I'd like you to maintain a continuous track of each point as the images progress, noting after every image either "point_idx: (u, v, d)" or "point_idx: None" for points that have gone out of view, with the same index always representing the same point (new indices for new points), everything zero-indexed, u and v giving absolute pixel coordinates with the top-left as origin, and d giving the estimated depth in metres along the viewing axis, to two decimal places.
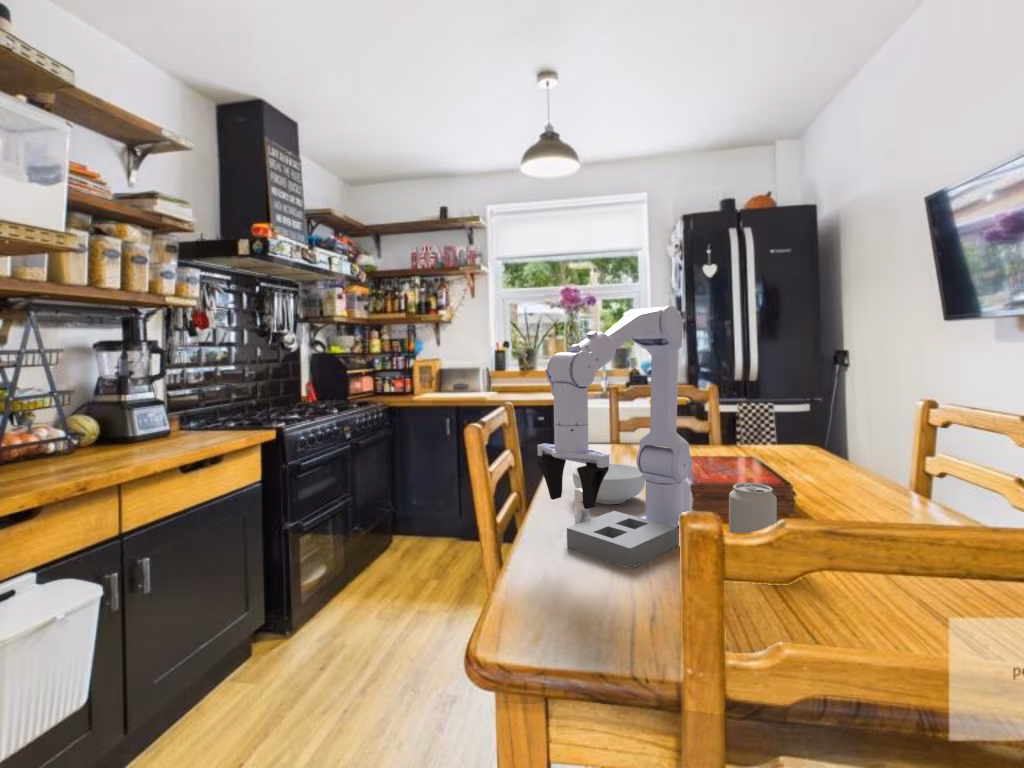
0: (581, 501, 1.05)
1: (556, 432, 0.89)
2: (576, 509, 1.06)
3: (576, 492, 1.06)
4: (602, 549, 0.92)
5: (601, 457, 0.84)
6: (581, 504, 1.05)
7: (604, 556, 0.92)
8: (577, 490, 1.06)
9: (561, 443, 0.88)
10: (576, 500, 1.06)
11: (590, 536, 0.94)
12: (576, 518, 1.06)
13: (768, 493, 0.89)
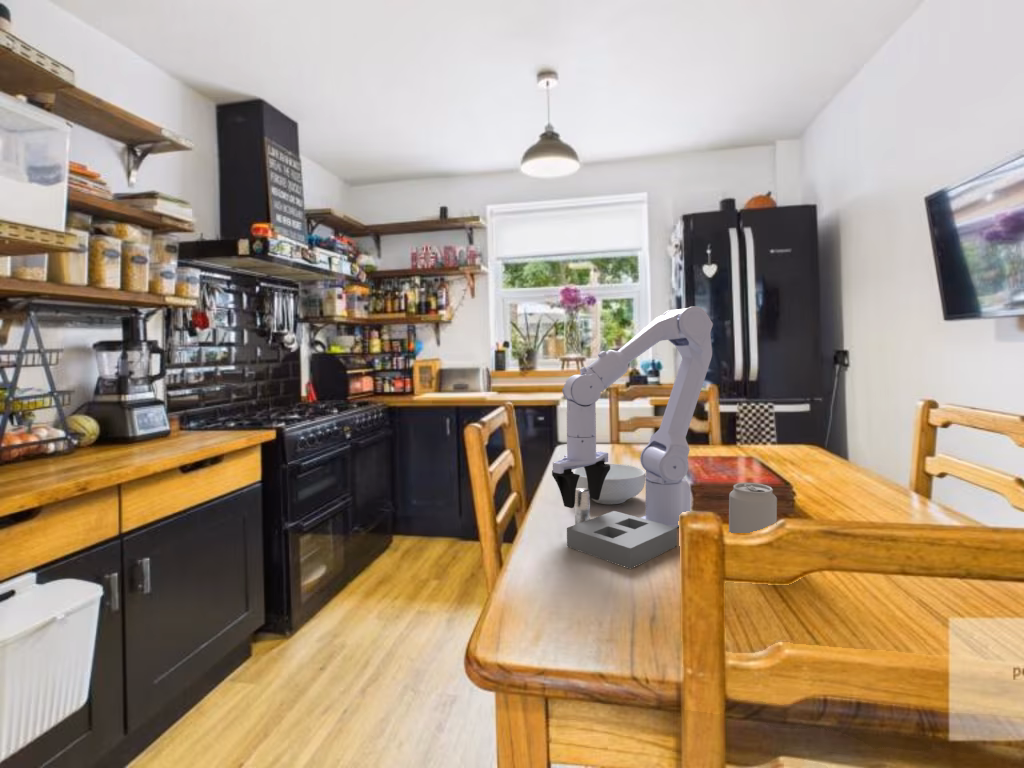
0: (581, 501, 1.05)
1: None
2: (576, 509, 1.06)
3: (576, 492, 1.06)
4: (602, 549, 0.92)
5: (553, 463, 1.02)
6: (580, 504, 1.05)
7: (604, 556, 0.92)
8: (577, 490, 1.06)
9: None
10: (576, 500, 1.06)
11: (590, 536, 0.94)
12: (576, 518, 1.06)
13: (768, 493, 0.89)
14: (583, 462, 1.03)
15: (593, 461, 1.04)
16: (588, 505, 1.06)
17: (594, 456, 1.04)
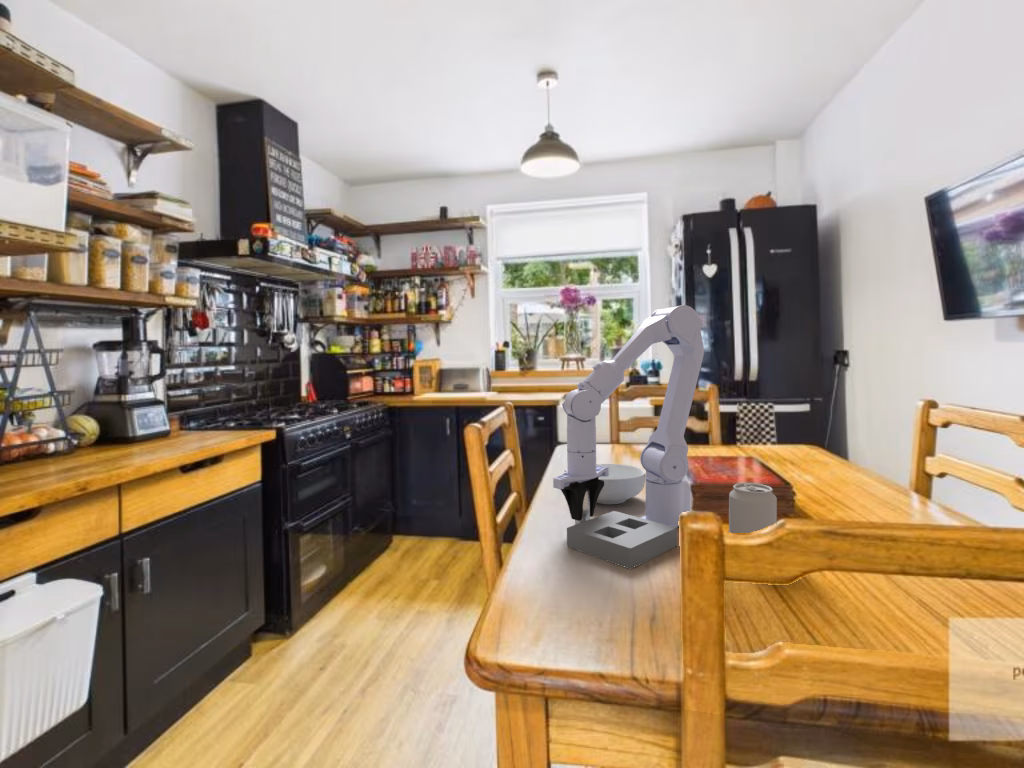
0: None
1: None
2: None
3: None
4: (602, 549, 0.92)
5: (553, 479, 1.02)
6: None
7: (604, 556, 0.92)
8: None
9: None
10: None
11: (590, 536, 0.94)
12: None
13: (768, 493, 0.89)
14: (583, 477, 1.03)
15: (593, 476, 1.04)
16: (588, 505, 1.06)
17: (594, 471, 1.04)
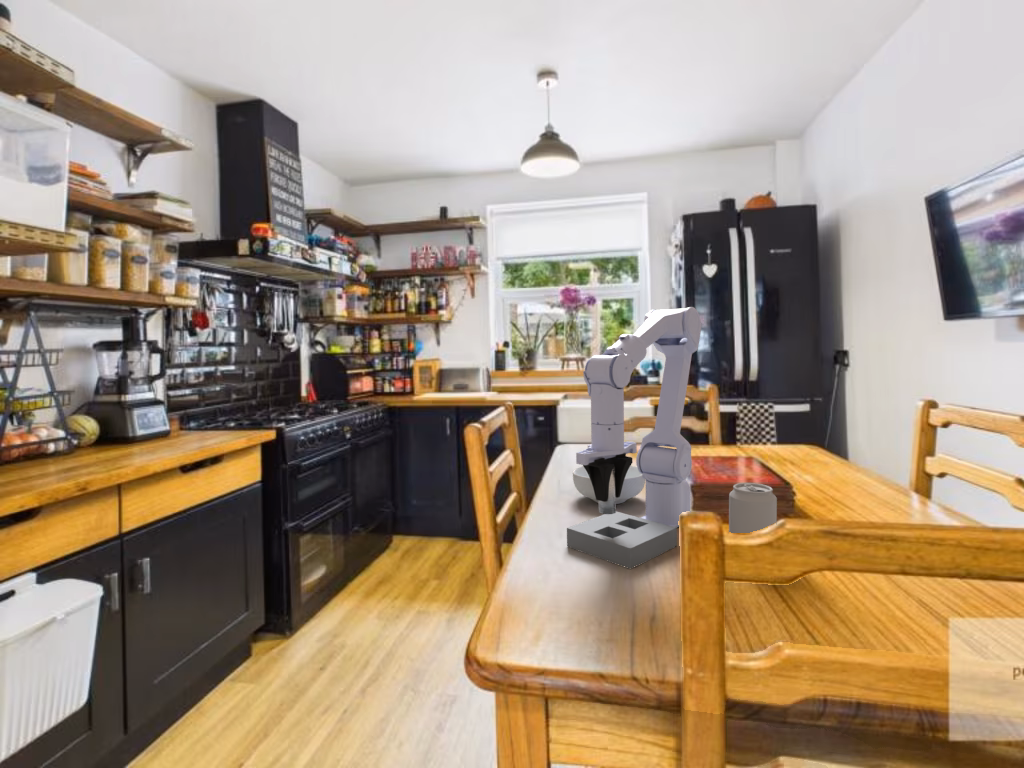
0: None
1: None
2: None
3: None
4: (602, 549, 0.92)
5: (576, 453, 0.91)
6: None
7: (604, 556, 0.92)
8: None
9: None
10: None
11: (590, 536, 0.94)
12: None
13: (768, 493, 0.89)
14: (610, 452, 0.91)
15: (621, 451, 0.92)
16: (613, 484, 0.94)
17: (622, 446, 0.93)
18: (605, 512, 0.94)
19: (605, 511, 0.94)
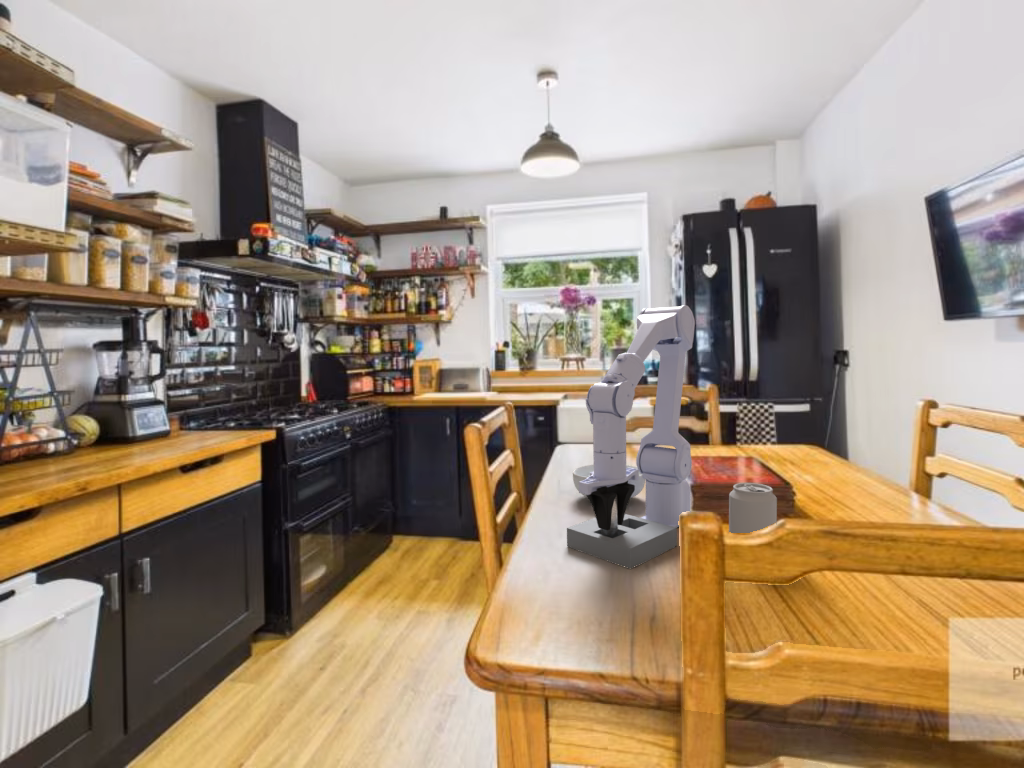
0: None
1: None
2: None
3: None
4: (602, 549, 0.92)
5: (579, 483, 0.90)
6: None
7: (604, 556, 0.92)
8: None
9: None
10: None
11: (590, 536, 0.94)
12: None
13: (768, 493, 0.89)
14: (613, 481, 0.91)
15: (624, 480, 0.92)
16: (615, 512, 0.94)
17: (624, 474, 0.93)
18: None
19: None
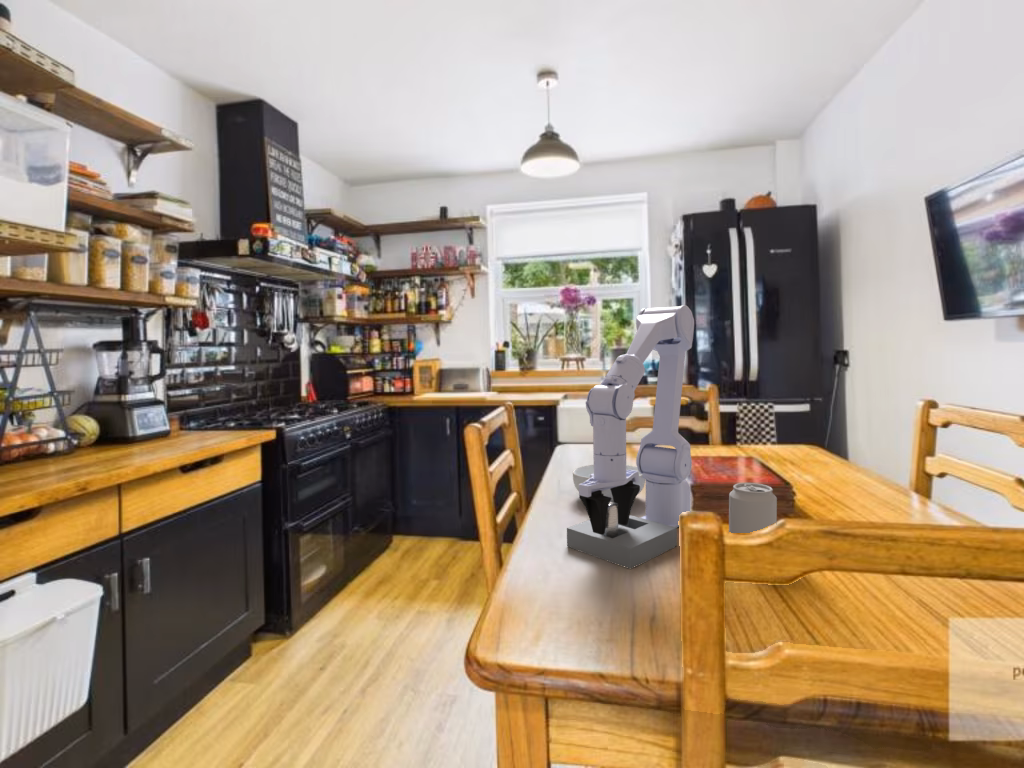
0: (608, 516, 0.94)
1: None
2: None
3: None
4: (602, 549, 0.92)
5: (579, 485, 0.90)
6: (607, 520, 0.94)
7: (604, 556, 0.92)
8: None
9: None
10: None
11: (590, 536, 0.94)
12: None
13: (768, 493, 0.89)
14: (613, 483, 0.91)
15: (624, 482, 0.92)
16: (616, 521, 0.94)
17: (625, 476, 0.93)
18: None
19: None
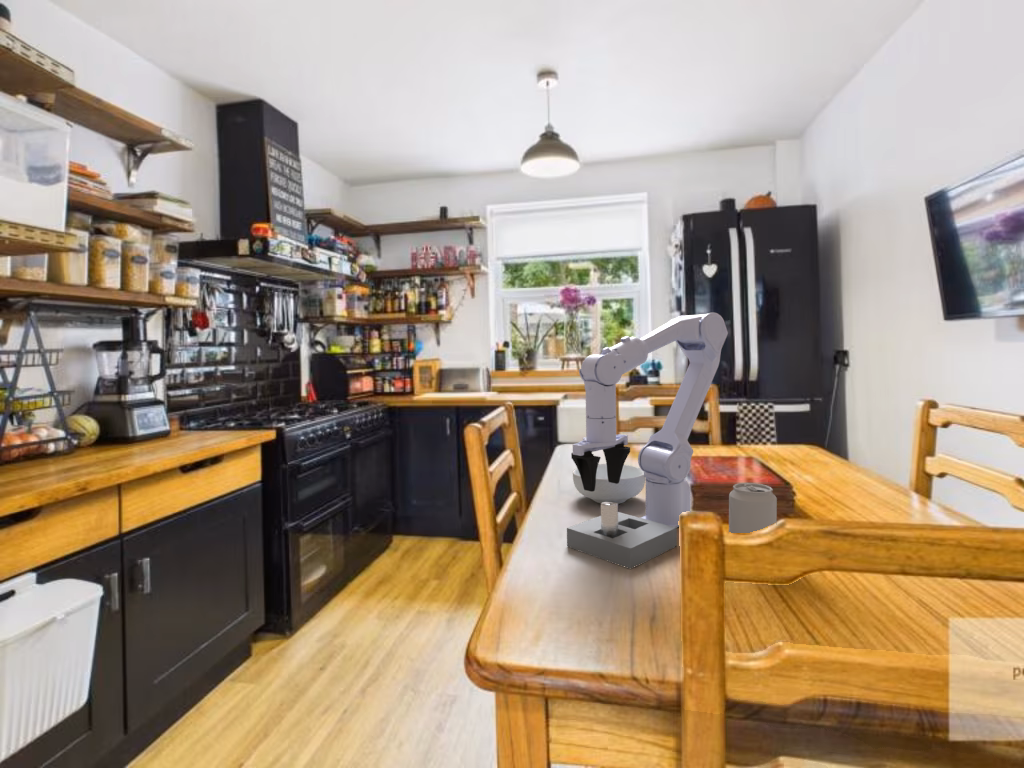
0: (608, 516, 0.94)
1: None
2: (602, 525, 0.94)
3: (602, 506, 0.94)
4: (602, 549, 0.92)
5: (573, 445, 0.99)
6: (607, 520, 0.94)
7: (604, 556, 0.92)
8: (604, 504, 0.95)
9: None
10: (602, 515, 0.94)
11: (590, 536, 0.94)
12: None
13: (768, 493, 0.89)
14: (604, 444, 1.00)
15: (614, 443, 1.01)
16: (616, 521, 0.94)
17: (614, 438, 1.01)
18: None
19: None
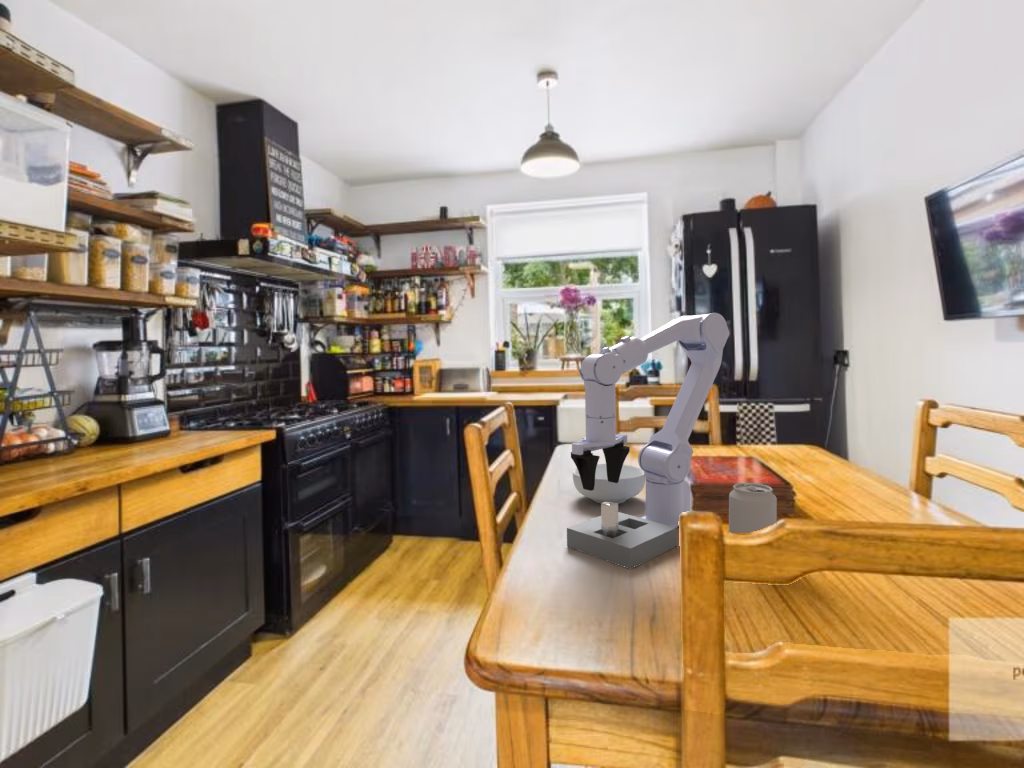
0: (608, 517, 0.94)
1: None
2: (602, 526, 0.94)
3: (603, 507, 0.94)
4: (602, 549, 0.92)
5: (572, 444, 0.99)
6: (608, 520, 0.94)
7: (604, 556, 0.92)
8: (604, 504, 0.95)
9: None
10: (603, 515, 0.94)
11: (590, 536, 0.94)
12: None
13: (768, 493, 0.89)
14: (603, 443, 1.00)
15: (613, 442, 1.01)
16: (616, 521, 0.94)
17: (614, 437, 1.02)
18: None
19: None
